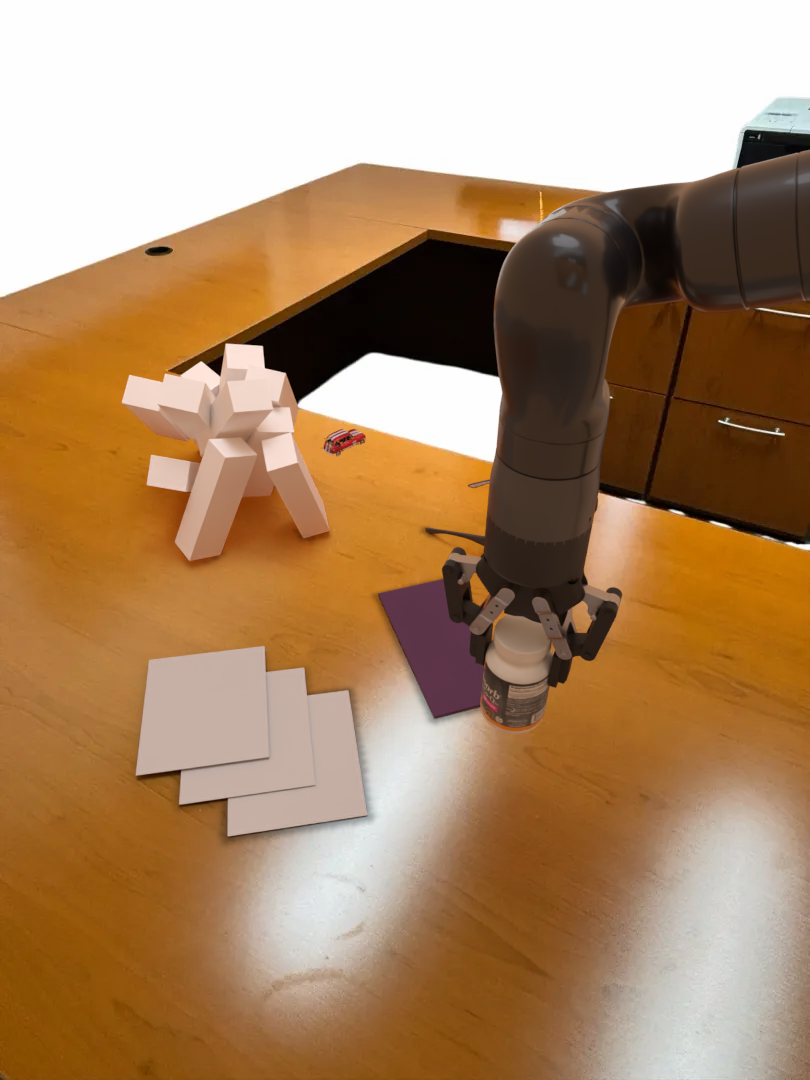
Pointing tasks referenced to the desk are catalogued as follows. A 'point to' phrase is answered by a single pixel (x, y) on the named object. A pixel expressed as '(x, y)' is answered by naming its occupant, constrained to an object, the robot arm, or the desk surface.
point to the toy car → (343, 441)
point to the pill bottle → (516, 675)
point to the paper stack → (251, 740)
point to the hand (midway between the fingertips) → (518, 668)
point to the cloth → (435, 647)
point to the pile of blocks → (227, 445)
